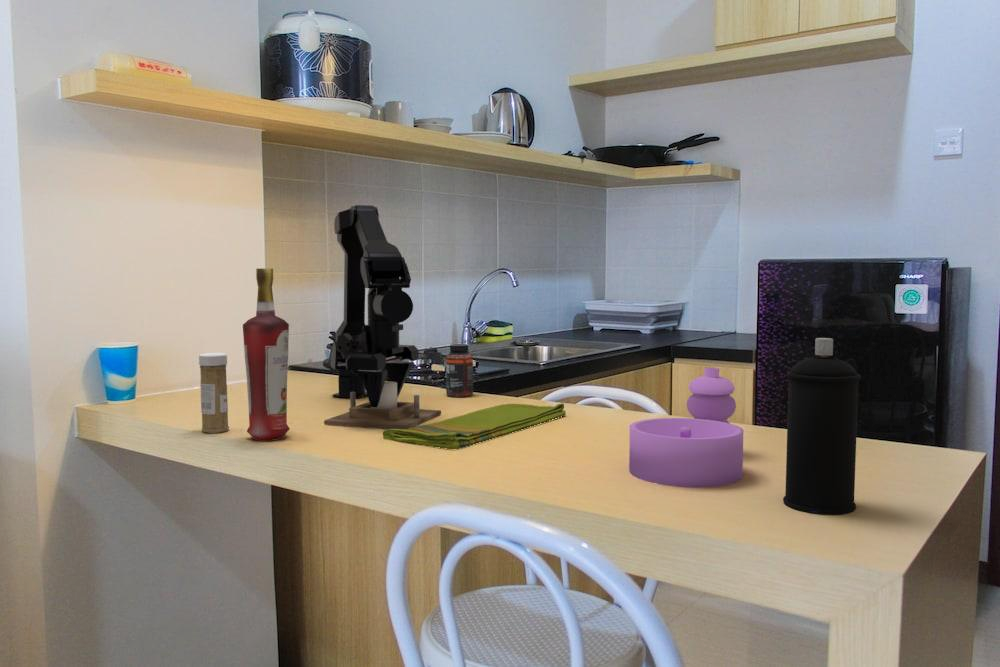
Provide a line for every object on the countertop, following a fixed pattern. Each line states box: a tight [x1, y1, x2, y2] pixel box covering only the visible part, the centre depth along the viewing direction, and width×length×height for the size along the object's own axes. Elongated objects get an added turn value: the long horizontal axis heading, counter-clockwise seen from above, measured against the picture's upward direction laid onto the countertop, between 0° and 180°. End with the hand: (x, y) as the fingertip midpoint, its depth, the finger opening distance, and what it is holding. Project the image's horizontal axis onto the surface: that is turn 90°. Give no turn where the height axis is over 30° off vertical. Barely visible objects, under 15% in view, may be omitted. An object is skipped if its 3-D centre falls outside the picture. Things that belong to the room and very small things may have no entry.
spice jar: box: [198, 352, 230, 434], centre depth 145 cm, size 5×5×13 cm
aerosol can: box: [782, 337, 862, 515], centre depth 100 cm, size 8×8×20 cm
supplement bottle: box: [445, 343, 474, 398], centre depth 184 cm, size 6×6×11 cm
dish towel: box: [382, 403, 567, 450], centre depth 149 cm, size 15×36×3 cm, turn 146°
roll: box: [371, 380, 398, 409], centre depth 156 cm, size 5×5×6 cm
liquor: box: [242, 268, 290, 442], centre depth 138 cm, size 7×7×28 cm
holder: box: [324, 392, 442, 430], centre depth 156 cm, size 16×16×5 cm
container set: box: [628, 367, 744, 488], centre depth 120 cm, size 25×15×13 cm, turn 152°
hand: (384, 403), depth 156 cm, fingers open, 8 cm apart
